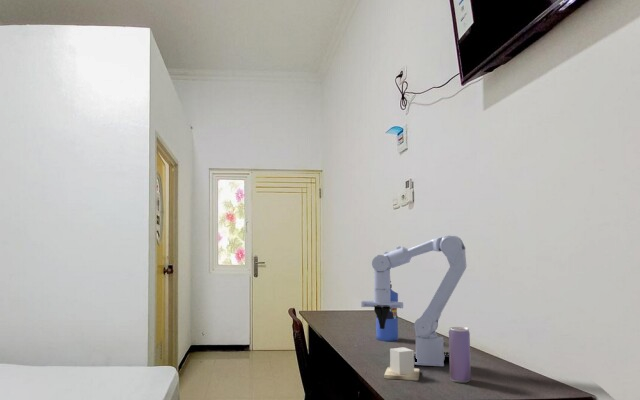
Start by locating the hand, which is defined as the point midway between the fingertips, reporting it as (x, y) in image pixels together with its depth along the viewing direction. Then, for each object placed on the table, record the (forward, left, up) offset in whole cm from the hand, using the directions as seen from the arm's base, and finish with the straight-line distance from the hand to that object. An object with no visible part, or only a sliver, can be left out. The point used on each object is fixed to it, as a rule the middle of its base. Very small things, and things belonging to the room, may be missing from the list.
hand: (382, 328), depth 174 cm
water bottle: (+2, -36, -11) cm, 38 cm away
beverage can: (-25, +22, -11) cm, 35 cm away
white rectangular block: (-8, +20, -9) cm, 23 cm away
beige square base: (-8, +20, -10) cm, 24 cm away
